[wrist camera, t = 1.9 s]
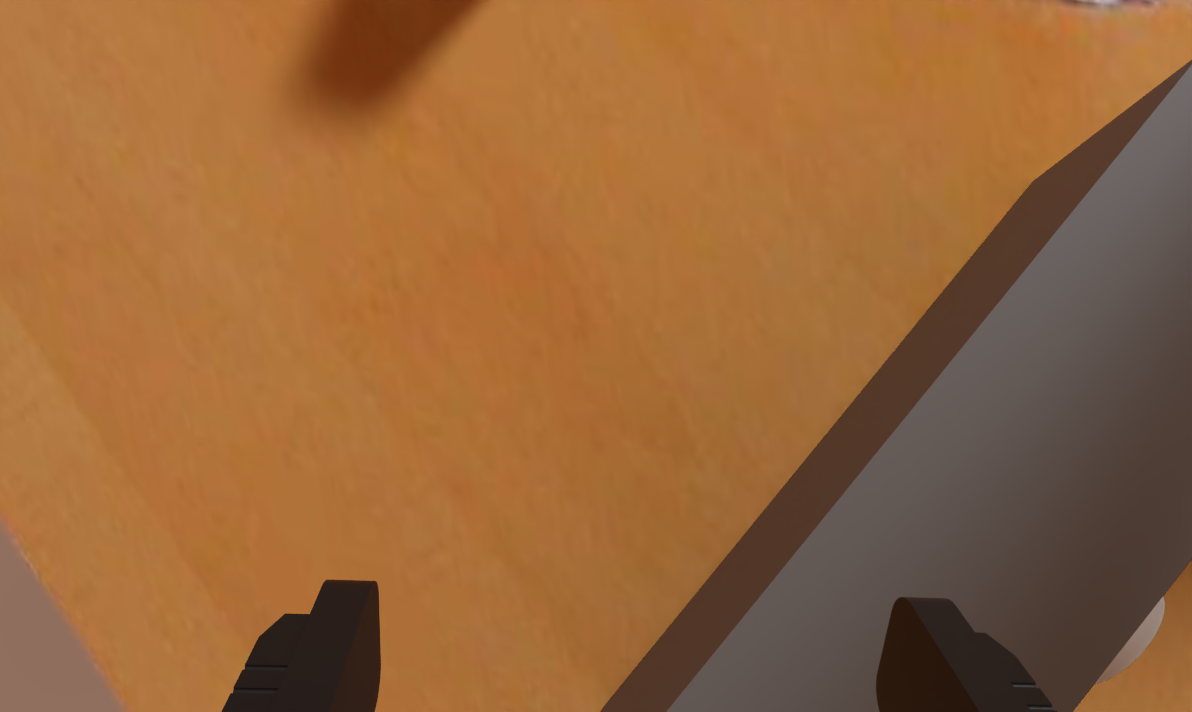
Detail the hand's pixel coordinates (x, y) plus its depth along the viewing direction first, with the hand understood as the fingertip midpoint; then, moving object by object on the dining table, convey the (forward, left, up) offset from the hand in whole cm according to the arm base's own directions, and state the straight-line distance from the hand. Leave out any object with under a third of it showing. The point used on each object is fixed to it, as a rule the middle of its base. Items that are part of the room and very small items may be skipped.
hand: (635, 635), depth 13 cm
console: (-10, -1, -22) cm, 24 cm away
